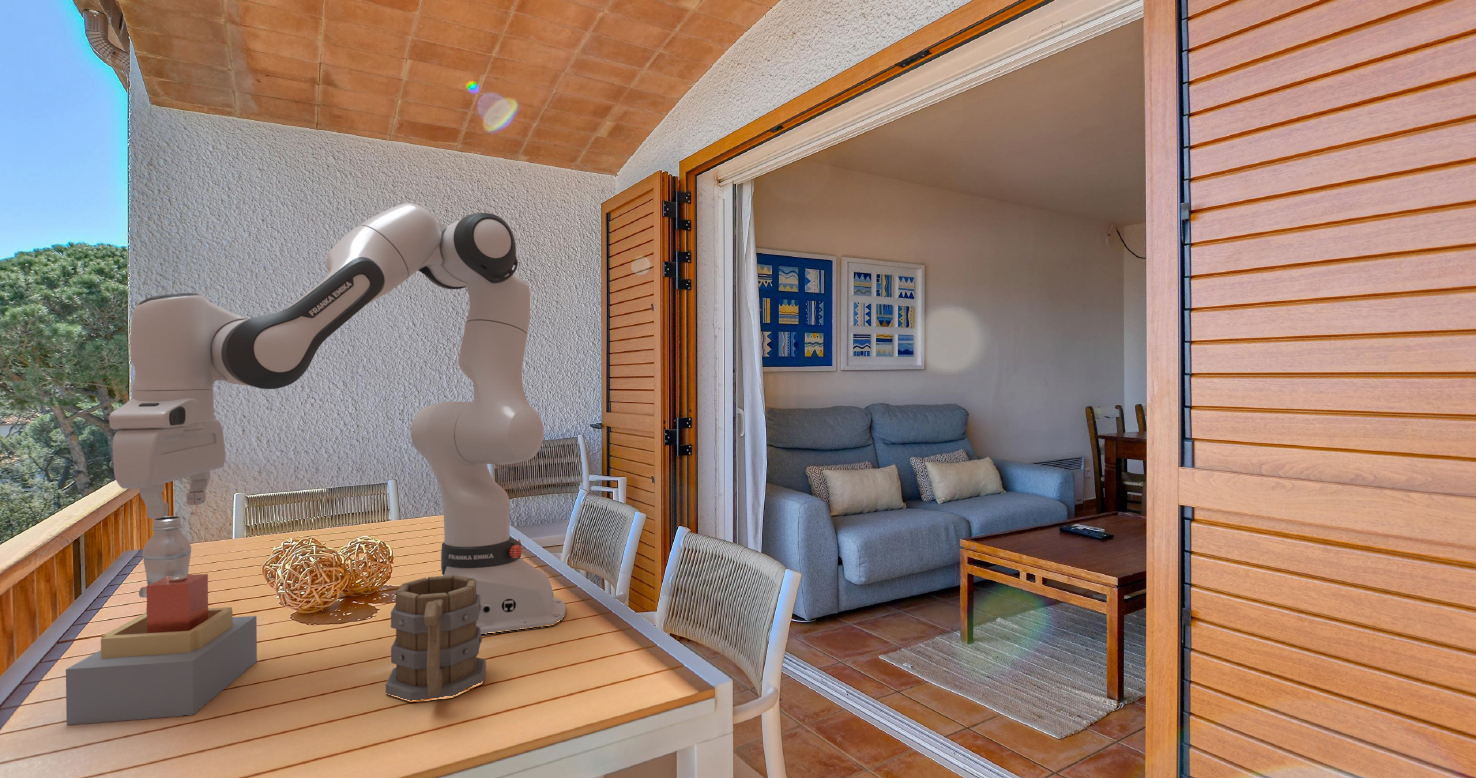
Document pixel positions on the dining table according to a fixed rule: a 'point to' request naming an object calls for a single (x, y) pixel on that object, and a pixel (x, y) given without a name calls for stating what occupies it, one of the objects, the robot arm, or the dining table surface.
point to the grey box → (160, 669)
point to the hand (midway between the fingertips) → (178, 510)
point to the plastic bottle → (166, 550)
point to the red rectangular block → (176, 603)
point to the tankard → (435, 638)
